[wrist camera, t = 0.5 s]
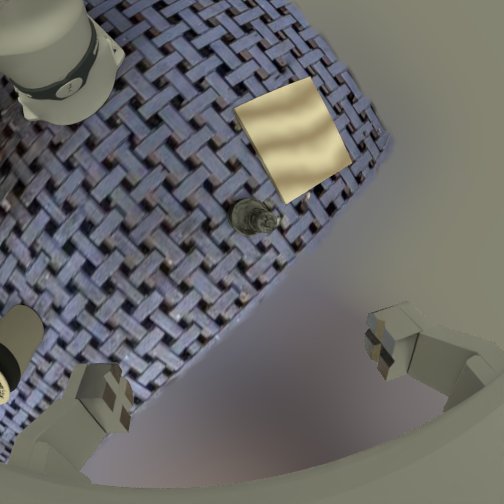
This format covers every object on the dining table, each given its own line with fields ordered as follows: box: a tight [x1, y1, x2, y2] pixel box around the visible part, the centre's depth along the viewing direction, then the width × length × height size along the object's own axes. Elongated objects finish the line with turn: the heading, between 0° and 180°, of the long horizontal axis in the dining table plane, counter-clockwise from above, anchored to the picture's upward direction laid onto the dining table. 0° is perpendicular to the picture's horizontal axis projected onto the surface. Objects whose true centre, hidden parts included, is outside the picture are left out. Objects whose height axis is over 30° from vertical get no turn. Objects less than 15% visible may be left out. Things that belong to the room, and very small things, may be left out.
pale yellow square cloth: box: [232, 77, 352, 204], centre depth 47 cm, size 18×16×1 cm
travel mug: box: [0, 305, 44, 404], centre depth 30 cm, size 8×8×18 cm
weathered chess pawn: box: [227, 198, 277, 236], centre depth 42 cm, size 6×6×12 cm
